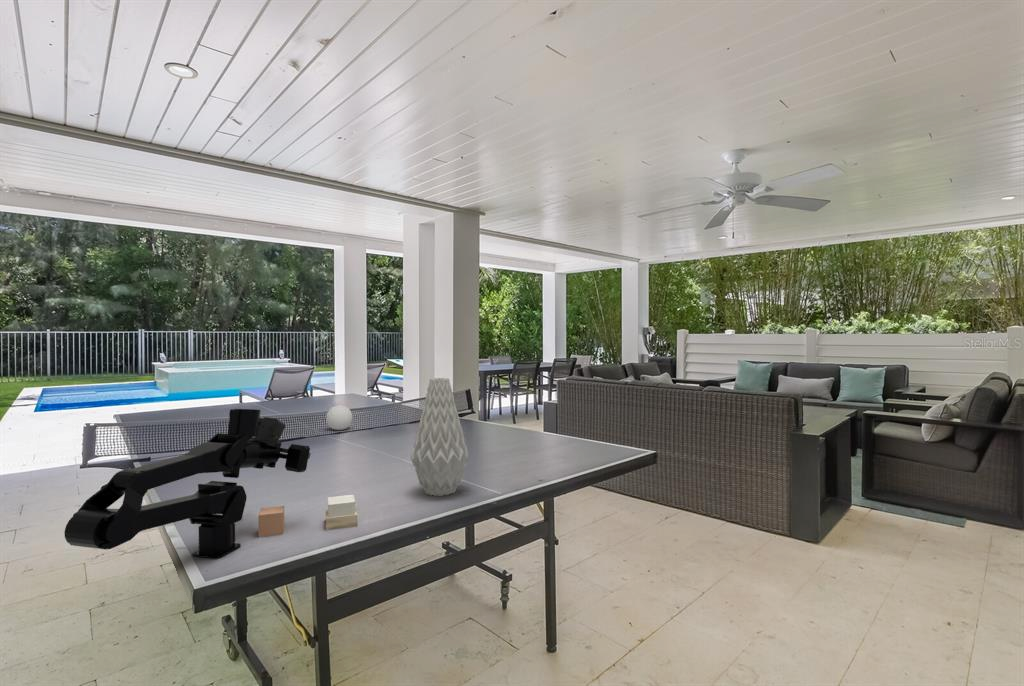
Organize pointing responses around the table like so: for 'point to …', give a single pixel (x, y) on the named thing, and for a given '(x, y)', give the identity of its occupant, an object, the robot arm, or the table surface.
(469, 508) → the table surface
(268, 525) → the terracotta cube
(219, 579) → the table surface
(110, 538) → the robot arm
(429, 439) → the vase
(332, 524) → the tower base block
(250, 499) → the table surface
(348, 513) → the tower top block
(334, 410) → the decorative ball
